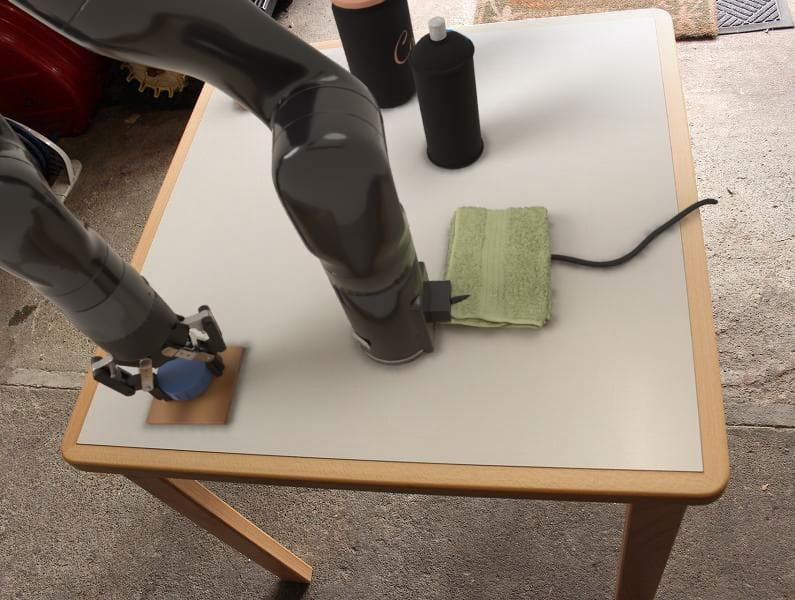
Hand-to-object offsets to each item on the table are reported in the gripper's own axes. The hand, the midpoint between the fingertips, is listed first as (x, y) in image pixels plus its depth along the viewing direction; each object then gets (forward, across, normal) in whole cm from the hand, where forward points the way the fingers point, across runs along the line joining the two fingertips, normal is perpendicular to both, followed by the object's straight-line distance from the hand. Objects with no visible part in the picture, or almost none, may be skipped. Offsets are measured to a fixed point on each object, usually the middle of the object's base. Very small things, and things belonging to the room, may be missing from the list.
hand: (193, 381), depth 73 cm
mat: (+1, 0, 0) cm, 1 cm away
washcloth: (+1, +39, -5) cm, 39 cm away
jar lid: (-3, 0, 0) cm, 3 cm away
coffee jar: (+1, +42, +36) cm, 55 cm away
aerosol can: (+1, +44, +17) cm, 48 cm away
